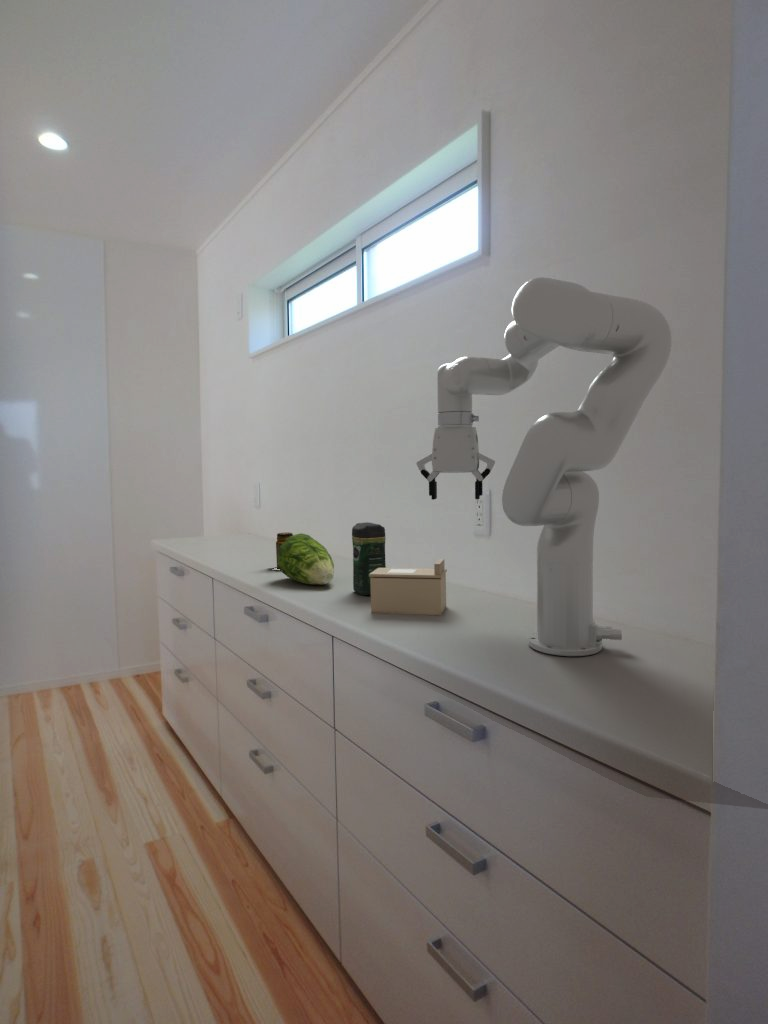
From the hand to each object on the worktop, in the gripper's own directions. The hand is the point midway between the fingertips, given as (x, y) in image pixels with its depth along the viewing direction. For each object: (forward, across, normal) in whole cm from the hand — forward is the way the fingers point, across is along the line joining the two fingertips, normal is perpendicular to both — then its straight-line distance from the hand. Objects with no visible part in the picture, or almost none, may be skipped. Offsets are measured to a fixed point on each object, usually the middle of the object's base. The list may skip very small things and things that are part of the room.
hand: (455, 499), depth 131 cm
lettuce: (+26, +46, -28) cm, 60 cm away
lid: (+17, +11, 0) cm, 21 cm away
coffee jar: (+26, +25, -17) cm, 40 cm away
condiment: (+27, +64, -49) cm, 85 cm away
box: (+26, +11, 0) cm, 28 cm away
